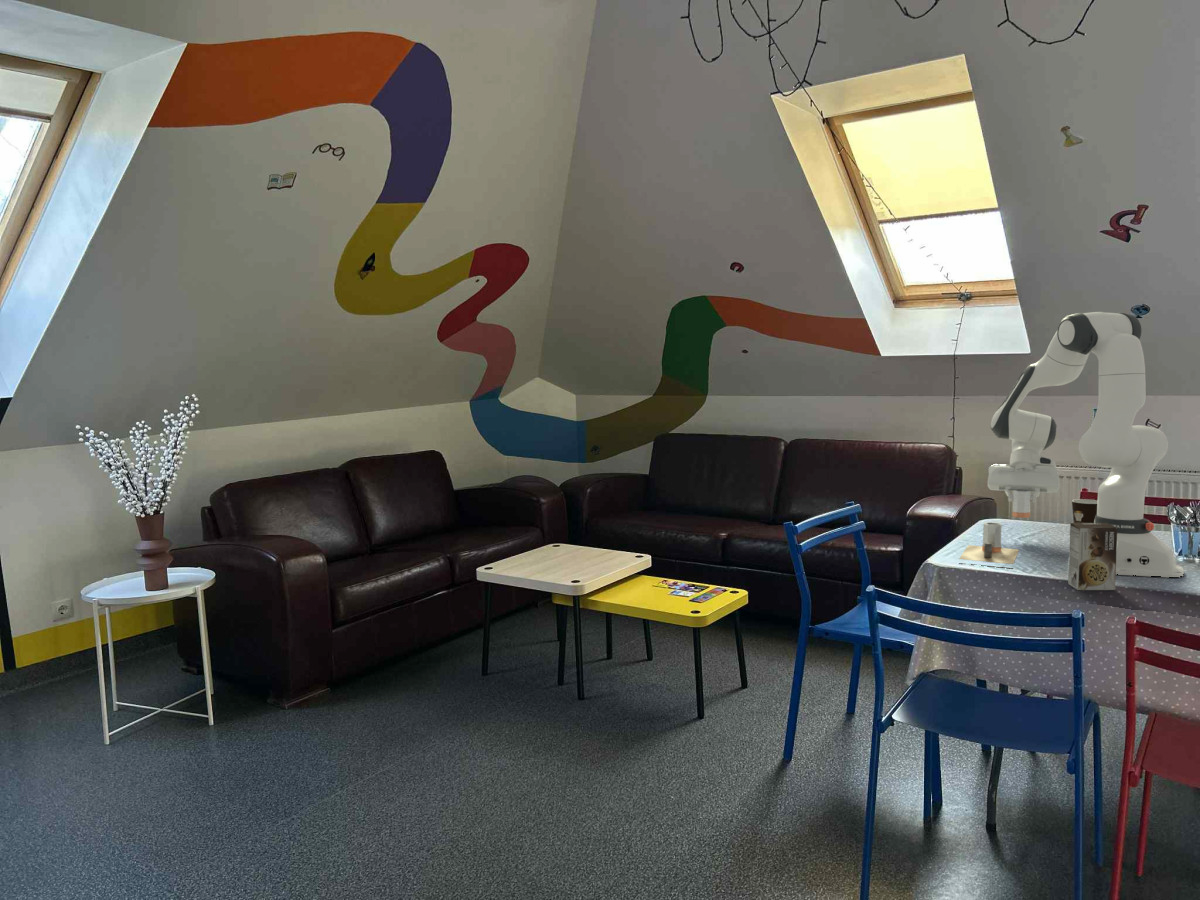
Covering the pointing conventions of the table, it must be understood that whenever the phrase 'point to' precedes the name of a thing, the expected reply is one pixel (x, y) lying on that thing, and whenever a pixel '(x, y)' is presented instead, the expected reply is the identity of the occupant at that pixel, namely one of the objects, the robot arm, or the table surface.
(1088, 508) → the coffee mug
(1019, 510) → the steel sleeve
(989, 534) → the sleeve
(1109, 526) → the coffee box
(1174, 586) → the table surface
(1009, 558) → the pin board
